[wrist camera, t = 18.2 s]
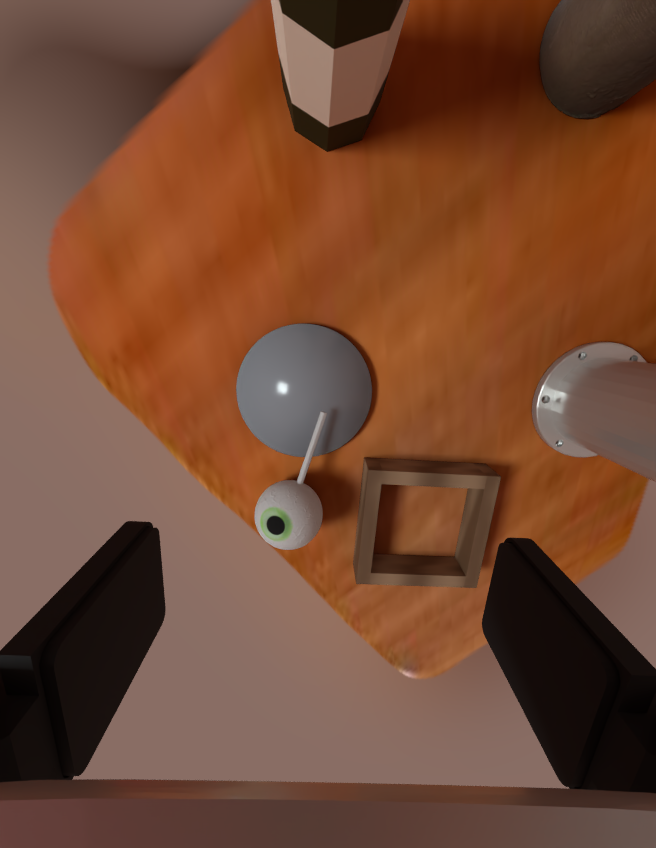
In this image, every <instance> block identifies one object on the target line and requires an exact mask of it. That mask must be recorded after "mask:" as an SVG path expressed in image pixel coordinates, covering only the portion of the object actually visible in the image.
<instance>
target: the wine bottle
mask: <svg viewBox="0 0 656 848" xmlns="http://www.w3.org/2000/svg"><path fill="white" fill-rule="evenodd" d="M409 1H410V0H271V3H272V10H273V17H274V24H275V32H276V39H277V46H278V53H279V60H280V68H281V75H282V82H283V89H284V92H285V96H286V100H287V103H288V107H289V111H290V114H291V118H292V122H293V126H294V129H295V131H296V132H297V133H299V134H301V135H302V136H304V137H305V138H307V139H308V140H310V141H311V142H313V143H314V144H316V145H317V146H319V147H321V148H322V149H324V150H325V151H327V152H328V151H331V150H334V149H337V148H339V147H342V146H345V145H348V144H351V143H354V142H357V141H360V140H362V138H363V136H364V134H365V132H366V130H367V128H368V126H369V123H370V121H371V119H372V117H373V115H374V113H375V111H376V109H377V107H378V105H379V103H380V100H381V96H382V93H383V90H384V86H385V83H386V79H387V76H388V73H389V69H390V66H391V62H392V59H393V56H394V52H395V49H396V46H397V42H398V39H399V35H400V32H401V29H402V25H403V22H404V18H405V15H406V12H407V8H408V5H409Z"/></svg>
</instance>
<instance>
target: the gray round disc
mask: <svg viewBox="0 0 656 848" xmlns="http://www.w3.org/2000/svg"><path fill="white" fill-rule="evenodd" d="M236 391H237V401H238V406H239V409H240V412H241V415H242V417H243V419H244V421H245V423H246V424H247V426H248V427H249V429H250V430H251V431H252V433H253V434H254V435H255V436H256V437H257V438H258V439H259V440H260V441H261V442H263V443H264V444H266V445H267V446H268V447H270V448H272V449H274V450H276V451H278V452H281V453H284V454H287V455H291V456H298V457H305V456H306V453H307V450H308V447H309V444H310V442H311V439H312V436H313V433H314V430H315V427H316V424H317V421H318V418H319V415H320V412H321V411H322V412H325V413H327V415H326V418H325V421H324V424H323V427H322V430H321V433H320V436H319V439H318V441H317V444H316V447H315V450H314V453H313V456H319V455H323V454H327V453H329V452H332V451H334V450H336V449H338V448H340V447H341V446H343V445H344V444H346V443H347V442H348V441H349V440H350V439H351V438H352V437H354V436H355V434H356V433H357V432H358V431H359V429H360V428H361V426H362V425H363V423H364V421H365V419H366V417H367V415H368V412H369V409H370V404H371V399H372V384H371V378H370V374H369V370H368V368H367V365H366V363H365V361H364V359H363V357H362V355H361V354H360V353H359V351H358V350H357V349H356V347H355V346H354V345H353V344H352V343H351V342H350V341H348V340H347V339H346V338H345V337H343V336H342V335H340V334H339V333H337V332H335V331H333V330H331V329H329V328H326V327H323V326H319V325H314V324H293V325H288V326H284V327H281V328H278V329H276V330H274V331H272V332H270V333H268V334H267V335H265V336H264V337H262V338H261V339H260V340H259V341H257V342H256V344H255V345H254V346H253V347H252V348H251V349H250V351H249V352H248V353H247V355H246V356H245V358H244V360H243V362H242V364H241V367H240V370H239V373H238V378H237V388H236Z"/></svg>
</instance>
